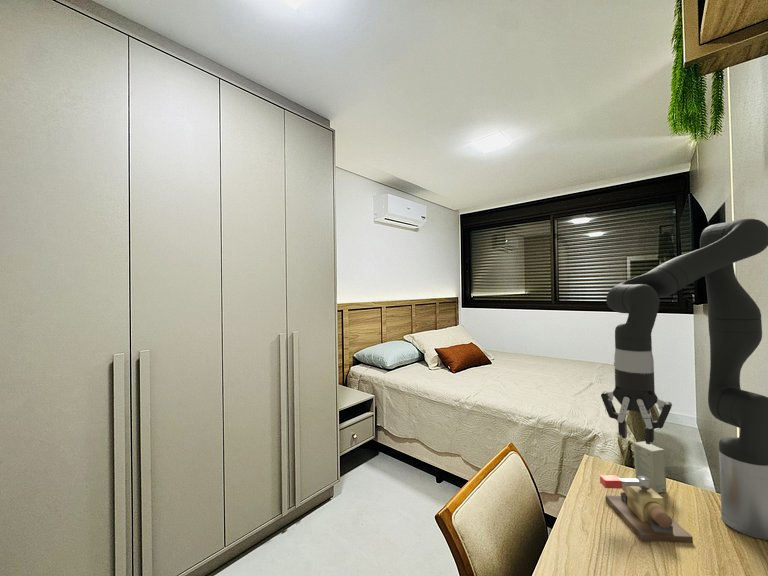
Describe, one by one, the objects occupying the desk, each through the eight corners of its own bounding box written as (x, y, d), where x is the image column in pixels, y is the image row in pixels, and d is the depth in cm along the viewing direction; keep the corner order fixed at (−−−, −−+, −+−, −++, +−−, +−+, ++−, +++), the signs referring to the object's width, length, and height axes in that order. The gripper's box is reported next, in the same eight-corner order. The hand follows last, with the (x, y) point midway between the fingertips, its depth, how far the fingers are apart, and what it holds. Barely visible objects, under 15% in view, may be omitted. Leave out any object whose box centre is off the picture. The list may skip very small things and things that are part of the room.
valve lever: (646, 483, 86) (645, 476, 86) (653, 489, 84) (652, 481, 84) (599, 482, 87) (599, 474, 87) (605, 488, 85) (605, 480, 85)
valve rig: (605, 500, 93) (604, 471, 93) (647, 502, 92) (646, 472, 92) (642, 541, 78) (640, 505, 78) (692, 543, 77) (691, 507, 77)
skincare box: (667, 492, 96) (665, 449, 96) (654, 494, 95) (652, 451, 95) (646, 480, 102) (645, 440, 102) (634, 481, 102) (632, 441, 102)
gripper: (674, 369, 77) (677, 444, 77) (602, 361, 87) (604, 427, 87) (671, 376, 72) (673, 456, 72) (595, 366, 82) (597, 436, 82)
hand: (636, 439), depth 79 cm, fingers open, 4 cm apart
